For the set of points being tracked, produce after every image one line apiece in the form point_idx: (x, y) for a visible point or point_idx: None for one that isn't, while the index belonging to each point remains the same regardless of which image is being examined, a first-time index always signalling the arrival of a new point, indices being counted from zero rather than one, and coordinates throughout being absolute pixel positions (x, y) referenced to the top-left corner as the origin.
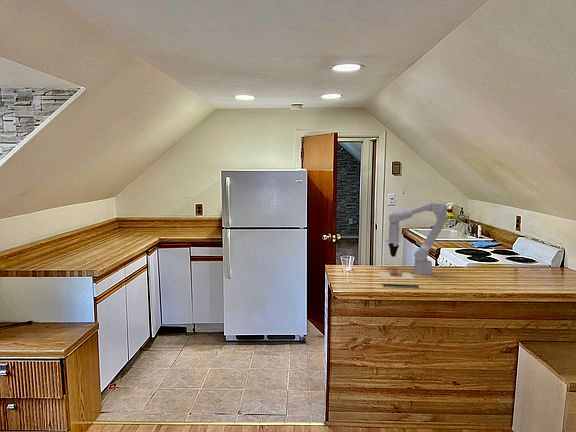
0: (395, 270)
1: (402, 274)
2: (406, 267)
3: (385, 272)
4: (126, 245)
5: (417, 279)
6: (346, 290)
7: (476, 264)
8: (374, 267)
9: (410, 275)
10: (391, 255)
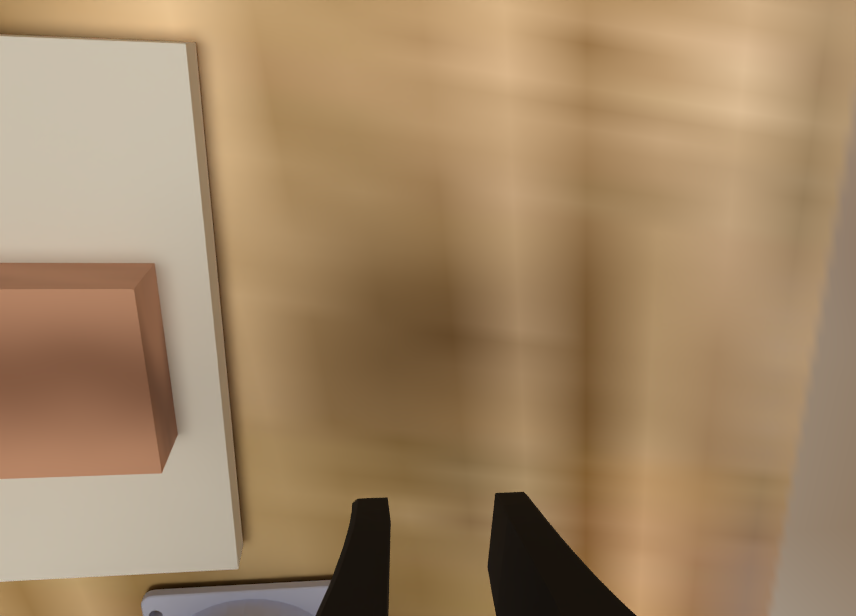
0: (62, 395)
1: None
2: (691, 544)
3: (150, 196)
4: None
5: (19, 602)
6: None
7: None
8: (736, 49)
9: (58, 561)
10: (355, 516)
